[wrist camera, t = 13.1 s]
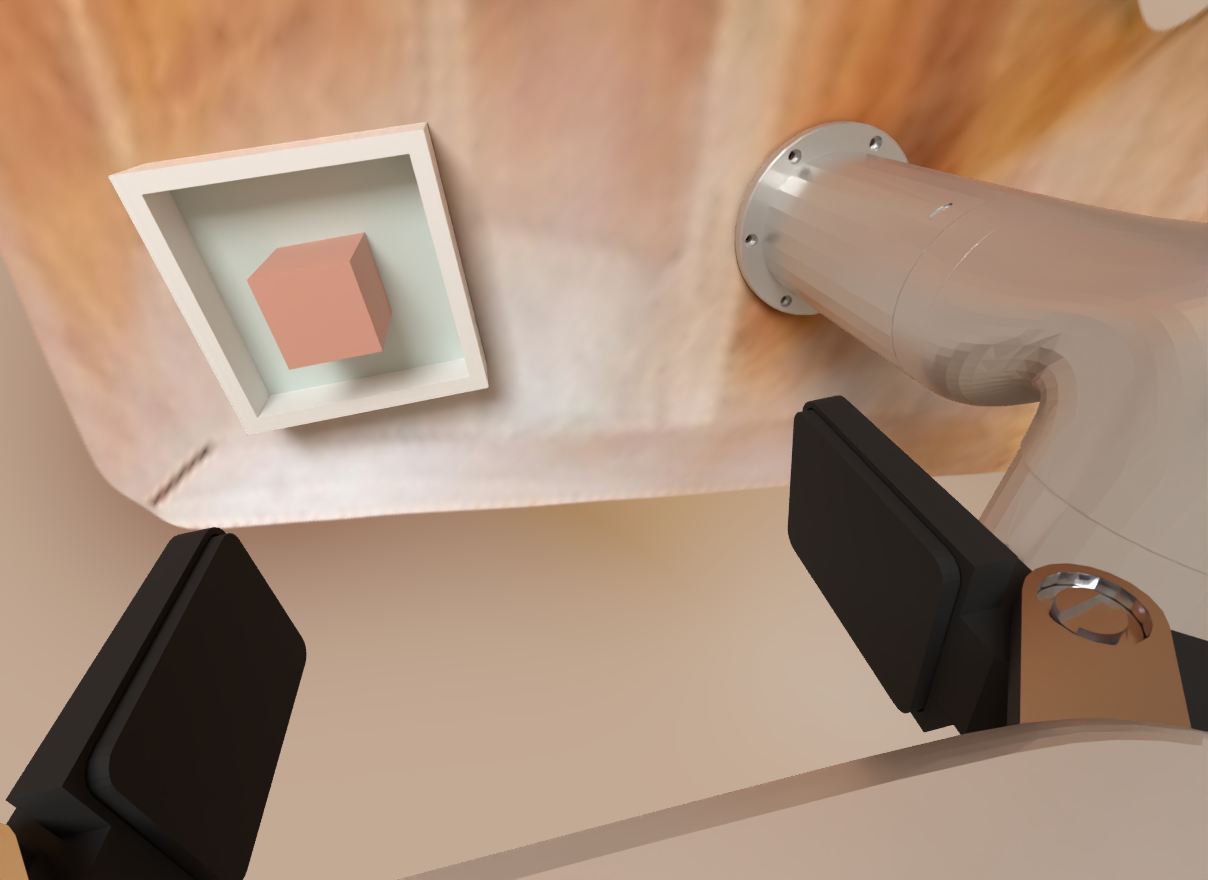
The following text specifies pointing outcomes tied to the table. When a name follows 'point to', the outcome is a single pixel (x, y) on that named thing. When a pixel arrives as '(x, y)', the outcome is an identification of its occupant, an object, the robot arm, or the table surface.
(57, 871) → the robot arm
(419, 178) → the tray
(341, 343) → the pink block
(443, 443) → the table surface
